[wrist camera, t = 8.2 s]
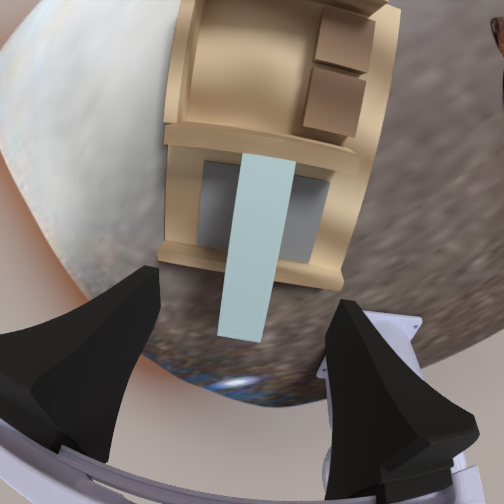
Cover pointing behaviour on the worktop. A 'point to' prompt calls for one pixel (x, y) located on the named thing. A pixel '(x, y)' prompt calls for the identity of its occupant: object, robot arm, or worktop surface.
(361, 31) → the offcut
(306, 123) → the offcut
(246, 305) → the panel
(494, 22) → the wooden tablet
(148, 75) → the worktop surface
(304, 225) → the felt pad
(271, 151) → the rack
